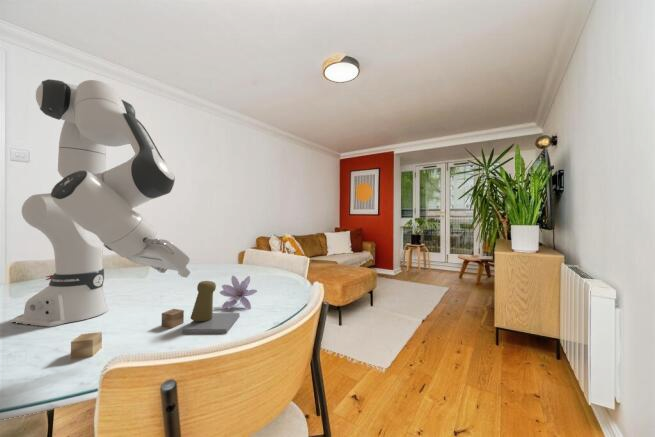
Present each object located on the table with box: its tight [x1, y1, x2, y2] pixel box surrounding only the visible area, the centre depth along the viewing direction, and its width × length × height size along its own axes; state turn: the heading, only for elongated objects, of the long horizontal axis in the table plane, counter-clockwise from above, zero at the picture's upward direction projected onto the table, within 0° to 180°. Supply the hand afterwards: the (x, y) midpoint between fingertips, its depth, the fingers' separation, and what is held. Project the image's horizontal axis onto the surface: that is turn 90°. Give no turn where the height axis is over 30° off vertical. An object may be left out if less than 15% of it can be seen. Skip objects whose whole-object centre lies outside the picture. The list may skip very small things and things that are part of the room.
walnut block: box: [161, 308, 185, 329], centre depth 77 cm, size 4×4×4 cm
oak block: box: [70, 331, 103, 360], centre depth 61 cm, size 4×4×4 cm
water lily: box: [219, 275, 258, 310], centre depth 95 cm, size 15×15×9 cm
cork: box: [190, 280, 217, 321], centre depth 79 cm, size 6×6×11 cm
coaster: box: [182, 312, 240, 335], centre depth 77 cm, size 12×12×1 cm
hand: (175, 272), depth 67 cm, fingers open, 8 cm apart
